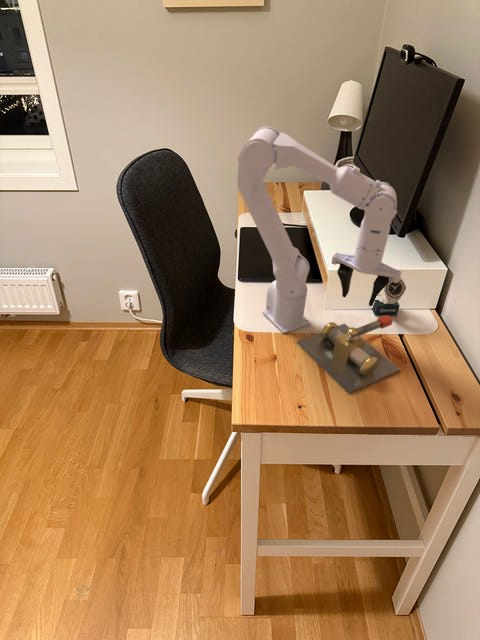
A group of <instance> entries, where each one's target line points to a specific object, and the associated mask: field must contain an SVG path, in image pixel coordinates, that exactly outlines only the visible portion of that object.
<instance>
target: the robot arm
mask: <svg viewBox="0 0 480 640" xmlns="http://www.w3.org/2000/svg"><path fill="white" fill-rule="evenodd" d="M237 163H238V166H237V167H238V169H237V181H236V186H237V189H238V191H239V193H240V195H241V198H242V200H243V201H244V204H245V206H246V208H247V209H248V211H249V214H250V216H251V218H252V220H253V222H254V224H255V226H256V228H257V230H258V233H259V234H260V236H261V239H262V240H263V243H264V245H265V247H266V249H267V251H268V253H269V255H270V257H271V260H272V267H273V268H272V272H273V275H274V278H275V280H273V281H272V282H271V283H270V284H269V286H268V288H267V291H266V301H265V309H264V310H262V312H261V313H262V314H263V315H264V316H265V317H266V318H267V319H268V320H269V321H270V322H271V323H272V324H273V325H274V326H275V327H276V328H277V329H278V330H280V332H281V333H283V334H285V333H289V332H291V331H295V330H297V329H300V328H303V327H305V326H309V325H310V324H311V321H310V320H309V319H307V318H306V316H305V315H304V313H305V307H306V303H307V302H306V301H307V295H308V287H307V284H306V281H307V278H308V275H309V273H310V267H311V266H310V263H309V261H308V260H307V259H306V258H305V257H304V256H303V255H302V254H301V253H300V250H299V249H298V248H297V247H295V246H293V244H292V241H291V239H290V237H289V234H288V232H287V231H286V228H285V226H284V223H283V222H282V219H281V217H280V214H279V213H278V211H277V208H276V206H275V204H274V202H273V199H272V198H271V195H270V193H269V191H268V188H267V186H266V184H265V179H266V177H267V175H268V172H269V170H270V169H271V167H272V166H273V165H274V164H275V167H274V169H275V170H282V169H287V168H290V167H293V168H295V169H298V170H300V171H301V172H304V173H305V174H308V175H310V176H312V177H314V178H316V179H318V180H320V181H322V182H323V183H325V184H328V185H329V188H330V192H331V194H333V195H334V196H336V197H338V198H339V199H342V200H343V201H345V202H347V203H348V204H350V205H353V206H354V207H355V208H358V209H359V210H363V211H364V216H363V219H362V221H361V223H360V228H359V231H358V236H357V242H356V246H355V250H354V255H353V254H346V253H340V252H335V253H334V254H333V255H332V259H331V264H332V265H335V266H336V265H339V267H338V268H337V276H338V278H339V281H340V284H341V290H342V297H343V298H346V297H347V296H348V294H349V291H350V287H351V286H350V285H351V280H352V277H353V272H354V271H356V272H359V273H361V274H365V275H372V276H373V275H374V276H376V278H375V280H374V281H373V286H372V292H371V295H370V298H369V301H368V306H369V307H371V306H372V305H373V303H374V301H375V298H376V296H379V294H380V291H381V290H382V289H383V288H384V287H385V286H386V285H387V283H388V281H389V280H393V282H395V283H398V281H399V279H400V276H401V277H402V270H398V269H396V268H394V267H392V266H390V265H388V264H387V263H386V264H385V263H384V262H382V261H383V257H384V252H385V250H386V245H387V242H388V238H389V234H390V230H391V223H392V221H393V219H394V218H395V217H396V216H397V213H398V210H397V209H398V203H397V202H398V200H397V193H396V190H395V189H394V187H393V186H392V185H390V183H388V182H385V181H380V179H376V180H374V179H372V178H371V177H368V176H367V175H365V174H363V173H361V172H360V171H361V168H359V167H358V166H355V165H354V166H353V167H350V166H349V165H344V166H342V167H337V166H335V165H334V164H332V163H331V162H329V161H328V160H326V159H324V158H323V157H322V156H319V155H318V154H317V153H316V152H313V151H312V150H310V149H309V148H307V147H306V146H304V145H302V144H301V143H299V142H298V141H296V140H295V139H294V138H292V137H291V136H290V135H288V134H287V133H284V132H279V131H278V130H277V129H276V128H273V126H272V127H271V126H262V127H260V128H258V129H257V130H256V131H255V132H254V133H253V135H252V137H251V138H250V139H249V140H247V142H245V143H244V145H243V147H242V148H241V151H240V153H239V155H238V157H237Z"/></svg>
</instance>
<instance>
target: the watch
mask: <svg viewBox="0 0 480 640" xmlns="http://www.w3.org/2000/svg"><path fill="white" fill-rule="evenodd" d="M406 290H407V286H406V283H405V281H404V280H403V278H402V275H401V276H400V279H399V281H398V283H395V282H393V280H389V281H388V283H387V285H386V286H385V287H384V292H385V295H386V300H384V299H383V300H382V302H380V301H379V300H375V303H374V305H373V308H371V311H372V313H373V315H374V317H375V316H377V317H379V316H380V317H383V316H386V315H388V316H390V317H392V316H393V317H397V315H398V312H399V309H400V303H399V301H400V299H401V297H402V296H403V295H404V293H405V291H406Z"/></svg>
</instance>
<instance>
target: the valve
mask: <svg viewBox="0 0 480 640" xmlns="http://www.w3.org/2000/svg"><path fill="white" fill-rule="evenodd" d="M349 328H350V327H349V326H348V325H347V324H346V323H342V324H340V325H338V324H337V323H336V322H334V321H332V322H328V323H327V324H326V325H325V326H324V327H323V328H322V329H321V332H317V333H315V334H312V335H310V336H307V337H304V338H301V339H299V340H296V342H297V345H298V346H300V347H301V349H303V351H304V352H305V353H306V354H307V355H308V356H310V358H312V359H313V360H314V362H316V363H317V365H319V366H320V367H321V368H322V369H323V370H324V371H325V372H326V373H327V374H328V375H329V376H330V377H331V378H332V379H333V380H334V381H335V382H336V383H337V384H338V385H339V386H340V387H341V388H343V389H344V390H345V391H346V392H347V394H349V395H351V394H354V393H355V392H357V391H360V390H362V389H364V388H366V387H369V386H371V385H373V384H375V383H378V382H380V381H382V380H384V379H386V378H388V377H390V376H392V375H395V374H398V373H399V372H400V371H401V369H400V368H399V367H398V366H397V365H396V364H394V363H393V362H392V361H390V359H388V358H387V357H386V356H384V355H383V354H382V353H381V352H379V351H378V349H376V348H374V347H373V345H372V344H370V343H369V342H368V341H366V340H365V339H364V338H363V337H361V335H360V336H358V337H355V338H354V341H352V342H351V341H348V335H349V334H348V329H349Z"/></svg>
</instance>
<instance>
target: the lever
mask: <svg viewBox="0 0 480 640" xmlns="http://www.w3.org/2000/svg"><path fill="white" fill-rule="evenodd" d="M393 322H394V318H392V316H388V315H386V316H380V317H379V318H377V319H376V320H375V321H372V322H370V323H367V324H364V325H362V326H359V327H357V328H356V327H349V329H348V334H349V335H348V341H351V342H352V341H354V338H355V337H358V336H360V337H361V336H362V335H365V334H367V333H370V332H372V331H376V330H377V329H381V330H383V329H384V328H387V327H389V326H392V325H393Z"/></svg>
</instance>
